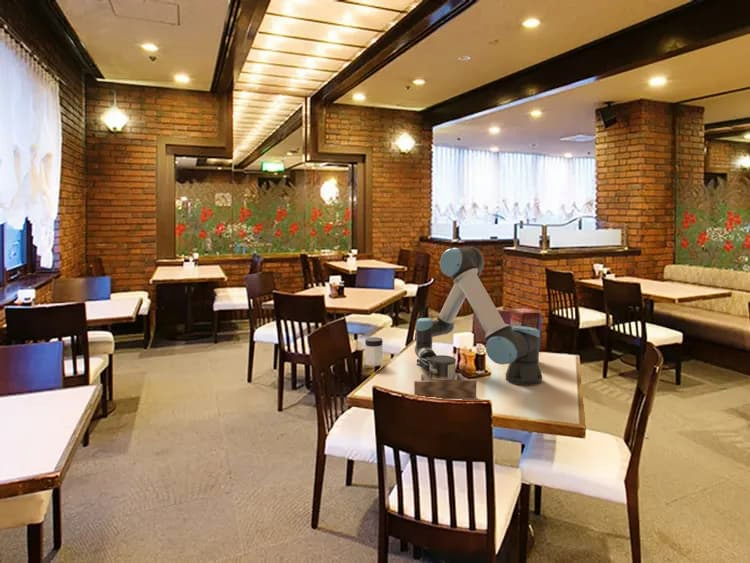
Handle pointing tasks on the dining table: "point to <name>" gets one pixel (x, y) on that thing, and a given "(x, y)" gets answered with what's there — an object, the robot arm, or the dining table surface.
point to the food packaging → (524, 317)
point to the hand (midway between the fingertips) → (438, 373)
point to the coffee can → (442, 367)
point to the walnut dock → (446, 387)
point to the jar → (373, 351)
